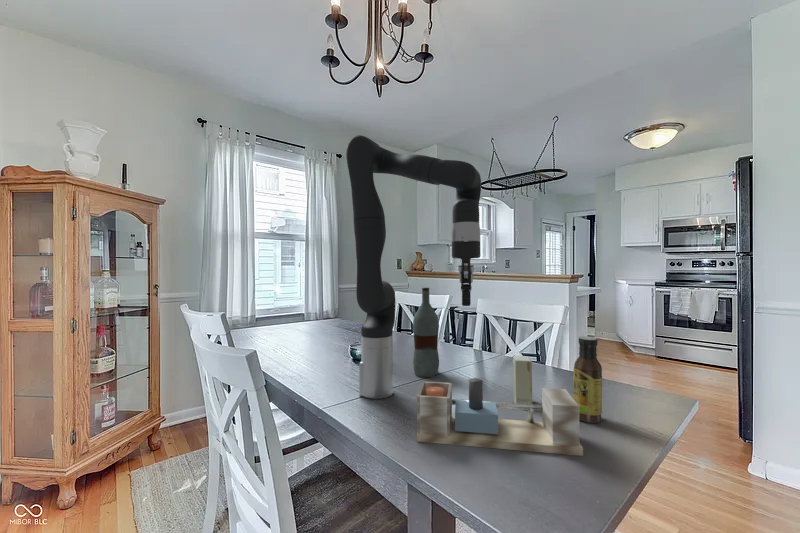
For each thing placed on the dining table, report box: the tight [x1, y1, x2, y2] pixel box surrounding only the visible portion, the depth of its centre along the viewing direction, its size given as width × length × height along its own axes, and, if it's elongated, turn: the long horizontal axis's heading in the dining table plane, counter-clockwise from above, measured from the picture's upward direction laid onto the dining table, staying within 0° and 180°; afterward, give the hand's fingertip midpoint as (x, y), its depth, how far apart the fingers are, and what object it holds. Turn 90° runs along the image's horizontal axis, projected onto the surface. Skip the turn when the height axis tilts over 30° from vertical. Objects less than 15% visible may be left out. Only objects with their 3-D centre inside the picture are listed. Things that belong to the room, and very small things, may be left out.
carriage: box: [454, 377, 499, 434], centre depth 79 cm, size 9×7×10 cm
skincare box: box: [512, 355, 533, 404], centre depth 97 cm, size 6×4×12 cm
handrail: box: [452, 398, 543, 423], centre depth 83 cm, size 20×1×4 cm, turn 79°
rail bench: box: [416, 381, 584, 457], centre depth 79 cm, size 33×11×10 cm, turn 79°
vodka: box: [412, 287, 440, 378], centre depth 124 cm, size 9×9×30 cm
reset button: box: [426, 387, 444, 397], centre depth 81 cm, size 4×4×4 cm
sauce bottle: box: [572, 335, 603, 424], centre depth 87 cm, size 6×6×20 cm
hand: (466, 305), depth 94 cm, fingers closed
